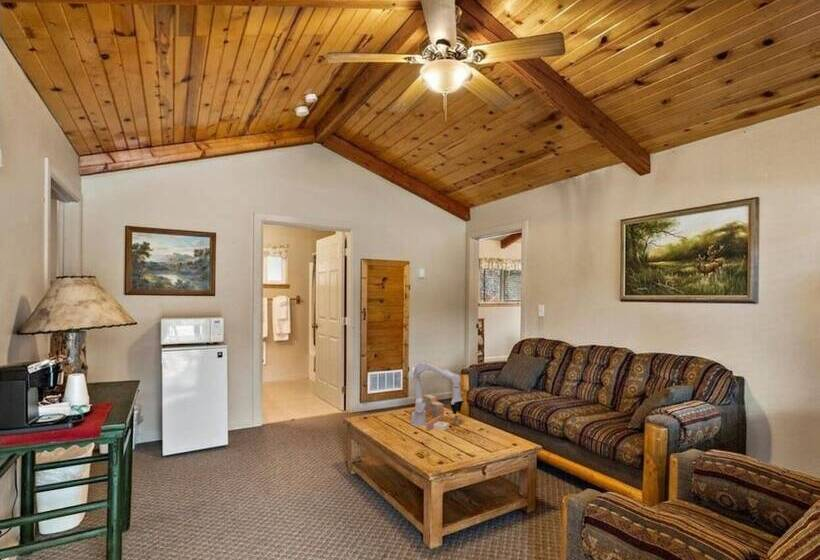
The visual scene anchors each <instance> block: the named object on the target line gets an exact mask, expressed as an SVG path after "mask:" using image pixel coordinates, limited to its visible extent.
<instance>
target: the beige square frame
mask: <svg viewBox="0 0 820 560" xmlns="http://www.w3.org/2000/svg"><path fill="white" fill-rule="evenodd" d="M449 428H450V423H449V422H445V421H442V422H437V423H435V424H434V425H433V430H434V429H435V430H439V431H440V430H442V431H445V430H447V429H449Z"/></svg>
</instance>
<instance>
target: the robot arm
mask: <svg viewBox="0 0 820 560" xmlns="http://www.w3.org/2000/svg"><path fill="white" fill-rule="evenodd" d="M425 371H427V372H428V371H433V372H434V373H437V374H439V375H441V377H442V378H443V379H445V380H447V381H448V382H449V381H450V382H452V391H451V392H452V395H451V396H452V399H451V401H450V403H449V405H450V407H451V410H452V414H453V415H457V412H458V413H459V412H461V410H462V406H463V403H464V400H463V396H461V395H462V387H461V380H462V377H461V375H460V374H458V373H455V372H452V371H450V369H444V370H443V369H442V368H440V367H438V366H436V365H434V364H432V363H431V362H428V361H425V360H421V361H419V362H418V363H417V364H416V365H415V367H414V369H413V371H412V381H413V388H414V395H415V405H414V411H412V412H411V413H412V414H411V426H417V427H418V426H419V427H423V426H427V422H426V421H427V420H426V419H427V417H426V415H427V412H426V411H425V408H426V404H425V402H424V399H423V395H424V394H423V390H422V383H421V382H422V381H421V374H422V373H424V372H425Z"/></svg>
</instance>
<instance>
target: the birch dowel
mask: <svg viewBox="0 0 820 560" xmlns="http://www.w3.org/2000/svg"><path fill="white" fill-rule="evenodd" d="M459 420H460V416H459V415H454V426H455V427H456V428H458V427H460V426H459V424H460V421H459Z"/></svg>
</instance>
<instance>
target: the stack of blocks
mask: <svg viewBox="0 0 820 560" xmlns="http://www.w3.org/2000/svg"><path fill="white" fill-rule="evenodd" d="M422 395H423V399H424V402H425V404H426V408H425V411H426V414H429V415H433V416H434V417H435V418H436V417H438V416H440V415H441V416H442V417H444V415H445V414H444V408H445V407H444V406H445V405H444V403H442V402H440V401H438V400H439V399H438V397H437V396H435V395H432V394H431V393H430V394H429V393H428V394H422Z"/></svg>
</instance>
